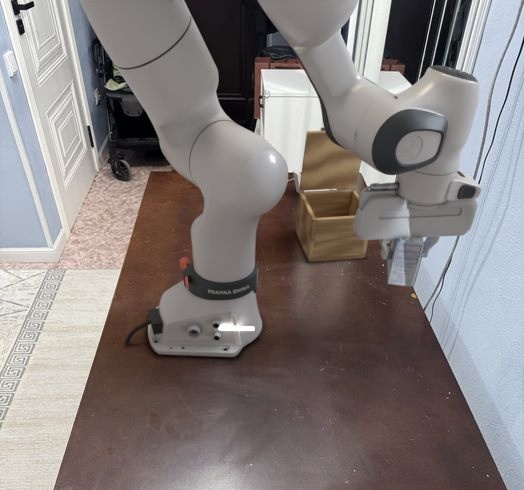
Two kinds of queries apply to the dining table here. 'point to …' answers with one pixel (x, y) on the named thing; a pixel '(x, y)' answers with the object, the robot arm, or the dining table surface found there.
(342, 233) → the chest
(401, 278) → the medicine box
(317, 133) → the chest lid
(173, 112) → the robot arm
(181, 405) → the dining table surface
